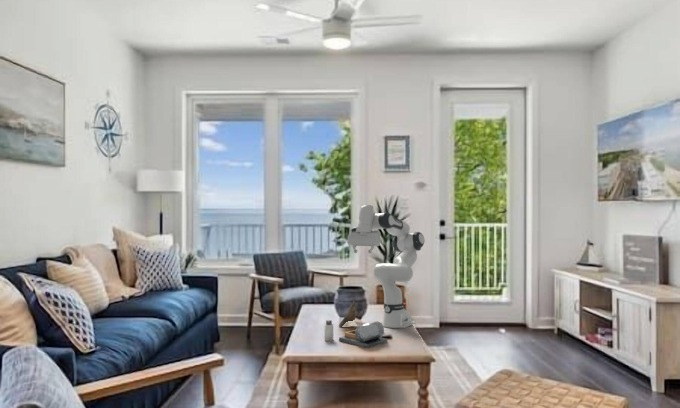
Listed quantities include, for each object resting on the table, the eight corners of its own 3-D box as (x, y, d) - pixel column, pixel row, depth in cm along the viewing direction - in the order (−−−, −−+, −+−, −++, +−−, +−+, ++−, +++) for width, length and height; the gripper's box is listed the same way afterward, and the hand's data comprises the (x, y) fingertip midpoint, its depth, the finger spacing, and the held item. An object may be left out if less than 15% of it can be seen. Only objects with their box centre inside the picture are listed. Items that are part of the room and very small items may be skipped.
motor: (360, 335, 341) (360, 316, 341) (389, 341, 326) (389, 322, 325) (339, 341, 328) (338, 321, 328) (368, 348, 313) (368, 327, 313)
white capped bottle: (329, 338, 334) (328, 319, 334) (335, 339, 331) (335, 320, 331) (322, 340, 331) (322, 320, 331) (329, 341, 327) (328, 322, 327)
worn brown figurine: (356, 328, 368) (361, 300, 368) (357, 330, 362) (363, 302, 363) (338, 325, 366) (343, 297, 366) (339, 327, 360) (345, 299, 361)
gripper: (382, 232, 351) (380, 254, 347) (351, 231, 360) (349, 253, 356) (379, 229, 346) (377, 252, 342) (347, 229, 354) (345, 251, 350)
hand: (362, 252), depth 349 cm, fingers open, 8 cm apart
